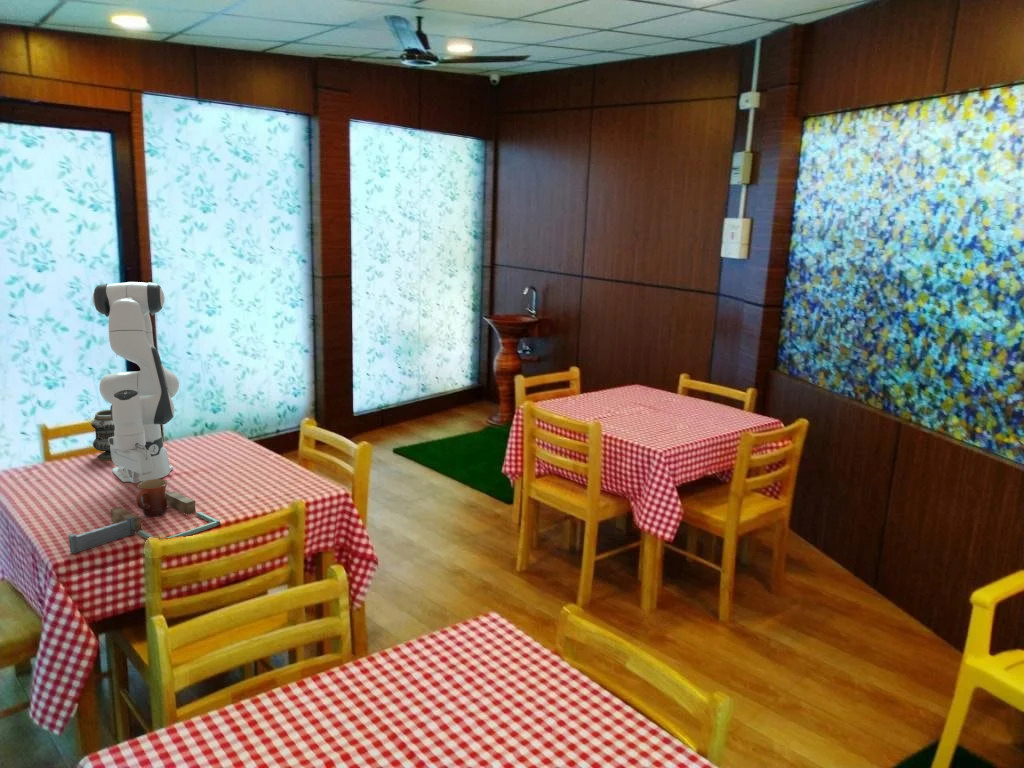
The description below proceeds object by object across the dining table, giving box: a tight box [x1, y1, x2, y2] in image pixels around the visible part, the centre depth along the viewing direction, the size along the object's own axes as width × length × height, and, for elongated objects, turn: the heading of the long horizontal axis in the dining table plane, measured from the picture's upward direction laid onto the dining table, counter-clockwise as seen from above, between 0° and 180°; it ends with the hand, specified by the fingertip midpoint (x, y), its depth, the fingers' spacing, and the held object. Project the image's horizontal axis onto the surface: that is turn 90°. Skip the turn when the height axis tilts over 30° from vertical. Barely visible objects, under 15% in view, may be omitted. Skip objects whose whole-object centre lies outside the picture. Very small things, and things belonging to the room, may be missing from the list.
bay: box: [137, 511, 221, 539], centre depth 243 cm, size 12×20×1 cm, turn 142°
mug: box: [135, 478, 168, 518], centre depth 252 cm, size 12×9×10 cm
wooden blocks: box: [110, 490, 197, 532], centre depth 252 cm, size 13×21×4 cm, turn 142°
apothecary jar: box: [90, 409, 115, 461], centre depth 307 cm, size 12×12×18 cm
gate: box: [67, 516, 137, 554], centre depth 232 cm, size 2×18×5 cm, turn 142°
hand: (134, 482), depth 256 cm, fingers closed
